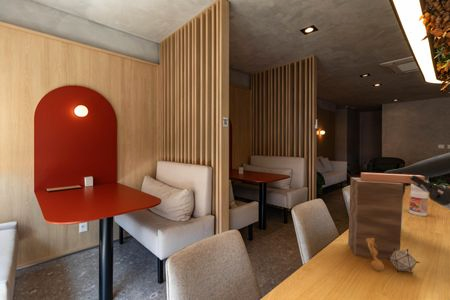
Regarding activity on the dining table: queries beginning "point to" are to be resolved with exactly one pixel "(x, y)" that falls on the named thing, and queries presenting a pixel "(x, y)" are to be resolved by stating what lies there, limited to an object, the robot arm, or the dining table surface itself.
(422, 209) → the fruit juice
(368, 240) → the figurine
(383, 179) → the terracotta bar
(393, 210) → the walnut pedestal
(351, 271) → the dining table surface
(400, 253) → the game die
